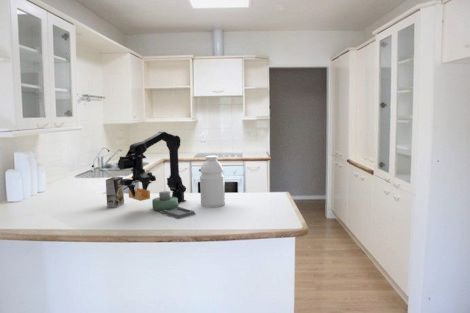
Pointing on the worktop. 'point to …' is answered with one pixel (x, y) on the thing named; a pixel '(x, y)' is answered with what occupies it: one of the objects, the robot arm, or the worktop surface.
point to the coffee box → (114, 192)
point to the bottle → (212, 183)
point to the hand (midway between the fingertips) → (139, 195)
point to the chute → (140, 194)
